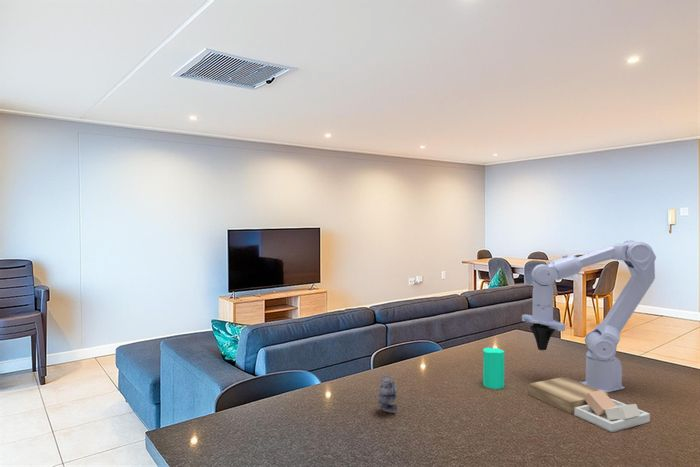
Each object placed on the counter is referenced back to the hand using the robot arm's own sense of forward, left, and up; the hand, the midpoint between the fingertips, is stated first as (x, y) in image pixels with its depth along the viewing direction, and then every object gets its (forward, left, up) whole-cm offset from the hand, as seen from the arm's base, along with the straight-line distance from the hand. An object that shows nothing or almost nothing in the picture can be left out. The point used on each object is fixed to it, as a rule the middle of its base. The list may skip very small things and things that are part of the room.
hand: (542, 349), depth 136 cm
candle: (+15, -4, -10) cm, 19 cm away
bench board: (+4, +13, -10) cm, 16 cm away
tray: (+4, +26, -10) cm, 28 cm away
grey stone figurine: (+53, 0, -10) cm, 54 cm away
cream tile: (+4, +28, -6) cm, 28 cm away
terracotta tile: (+4, +22, -8) cm, 24 cm away
